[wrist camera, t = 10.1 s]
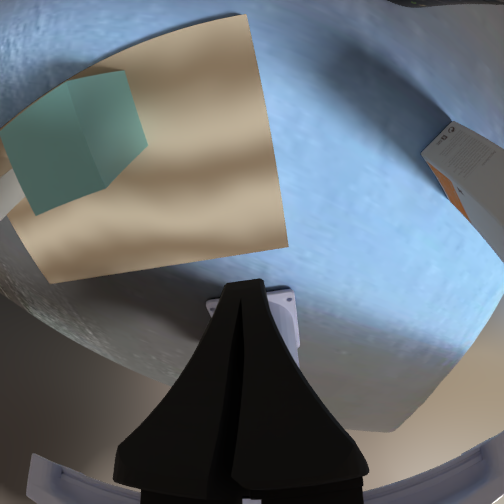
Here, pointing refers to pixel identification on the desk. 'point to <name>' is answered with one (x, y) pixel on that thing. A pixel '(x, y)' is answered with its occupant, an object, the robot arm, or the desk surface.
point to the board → (173, 165)
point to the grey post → (9, 193)
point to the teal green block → (74, 140)
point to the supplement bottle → (442, 2)
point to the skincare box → (471, 179)
